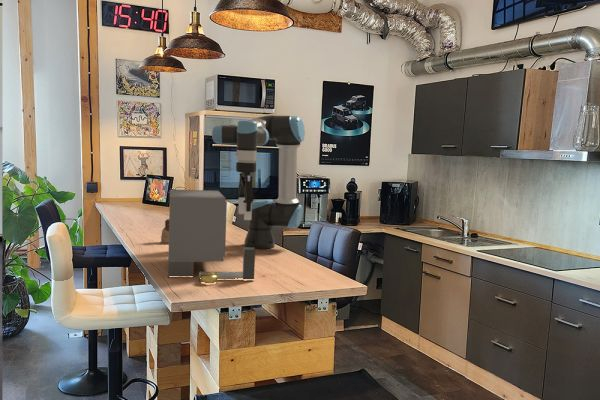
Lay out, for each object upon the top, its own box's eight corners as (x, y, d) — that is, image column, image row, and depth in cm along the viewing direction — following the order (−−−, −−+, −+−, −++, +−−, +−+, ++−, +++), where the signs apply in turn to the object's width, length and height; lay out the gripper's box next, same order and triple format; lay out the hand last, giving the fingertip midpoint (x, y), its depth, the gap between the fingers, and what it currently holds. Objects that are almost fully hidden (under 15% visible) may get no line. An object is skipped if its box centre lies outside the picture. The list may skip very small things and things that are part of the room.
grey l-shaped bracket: (252, 278, 186) (254, 247, 185) (253, 281, 182) (255, 249, 181) (199, 278, 182) (200, 246, 181) (198, 281, 178) (199, 249, 177)
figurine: (177, 241, 246) (178, 218, 245) (174, 244, 239) (174, 220, 238) (163, 241, 246) (163, 217, 245) (159, 244, 239) (160, 219, 237)
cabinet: (219, 259, 213) (222, 190, 210) (227, 276, 187) (229, 198, 183) (168, 260, 208) (169, 189, 205) (168, 277, 181) (170, 197, 178)
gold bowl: (217, 281, 181) (217, 273, 180) (216, 285, 175) (217, 277, 174) (201, 281, 180) (201, 272, 180) (199, 285, 174) (199, 277, 174)
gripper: (231, 159, 198) (230, 211, 200) (241, 163, 174) (240, 222, 177) (250, 160, 200) (248, 211, 202) (262, 164, 176) (260, 222, 179)
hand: (244, 216), depth 189 cm, fingers open, 13 cm apart
